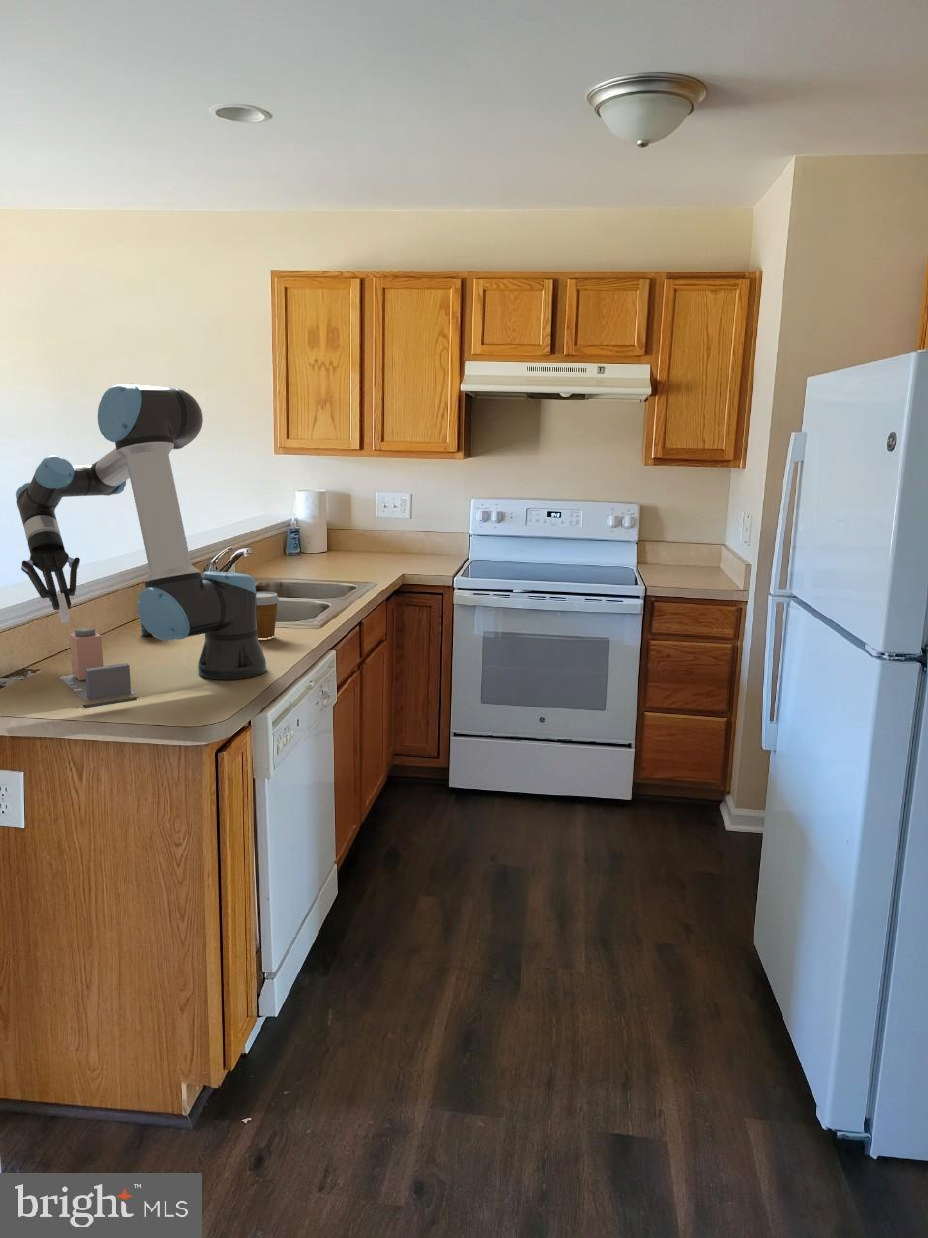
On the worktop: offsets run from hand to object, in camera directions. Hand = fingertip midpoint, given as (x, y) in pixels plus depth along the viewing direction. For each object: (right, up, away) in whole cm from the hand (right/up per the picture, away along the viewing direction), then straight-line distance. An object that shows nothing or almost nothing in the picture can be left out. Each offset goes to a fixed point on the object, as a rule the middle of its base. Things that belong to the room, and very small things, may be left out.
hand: (65, 619), depth 196 cm
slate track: (+14, -15, -15) cm, 25 cm away
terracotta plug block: (+10, -13, -10) cm, 19 cm away
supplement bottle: (+6, -4, +38) cm, 39 cm away
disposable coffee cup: (+36, -5, +36) cm, 52 cm away
